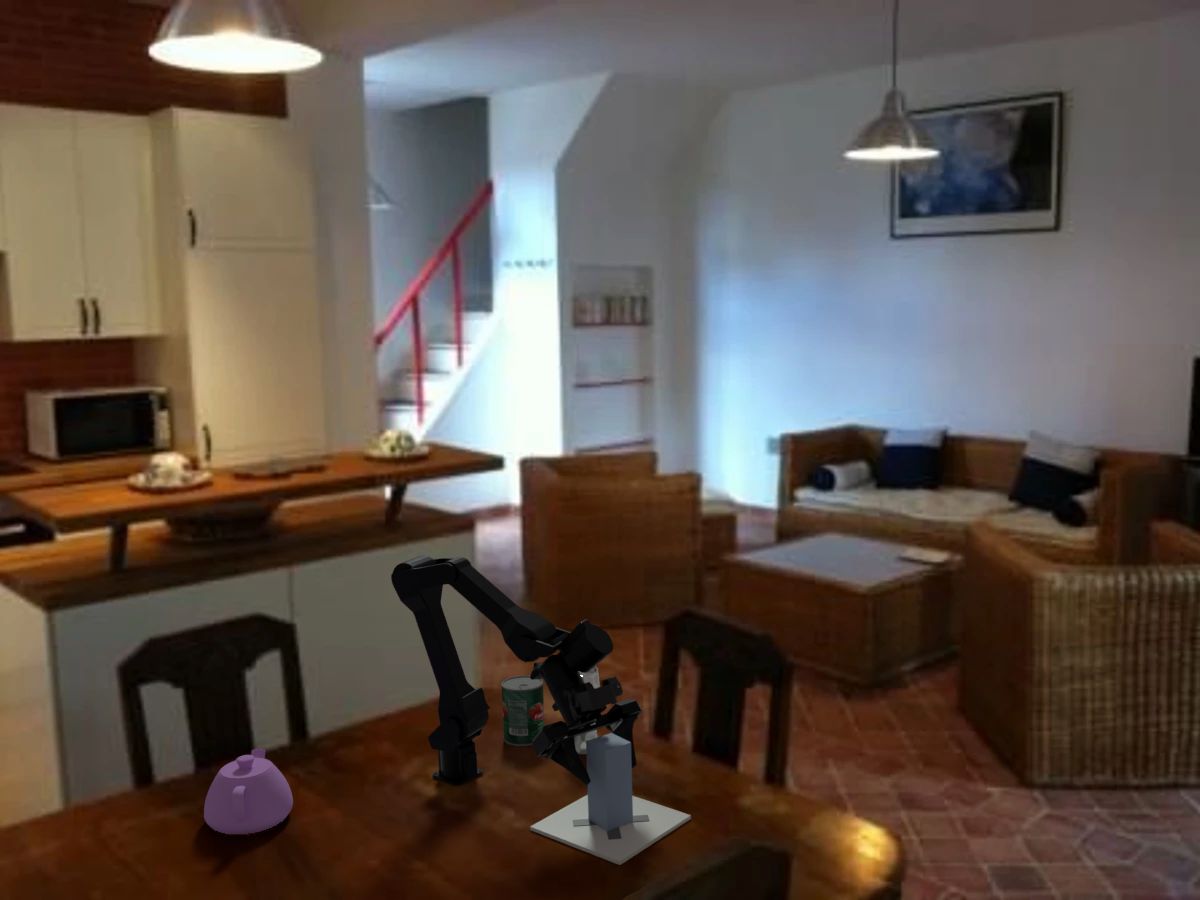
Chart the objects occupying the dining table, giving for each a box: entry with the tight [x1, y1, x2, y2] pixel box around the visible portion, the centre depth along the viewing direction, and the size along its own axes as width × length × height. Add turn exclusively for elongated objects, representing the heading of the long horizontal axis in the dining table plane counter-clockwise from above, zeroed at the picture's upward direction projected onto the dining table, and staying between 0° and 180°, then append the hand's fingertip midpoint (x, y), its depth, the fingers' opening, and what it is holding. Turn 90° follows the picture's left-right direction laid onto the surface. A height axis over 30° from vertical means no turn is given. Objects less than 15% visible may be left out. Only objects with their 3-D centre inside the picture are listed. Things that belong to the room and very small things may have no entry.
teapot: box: [203, 748, 294, 834], centre depth 182 cm, size 14×20×11 cm
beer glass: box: [574, 665, 601, 756], centre depth 206 cm, size 7×7×15 cm
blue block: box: [586, 732, 633, 831], centre depth 176 cm, size 5×5×13 cm
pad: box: [529, 794, 692, 866], centre depth 177 cm, size 18×18×1 cm
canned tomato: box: [500, 675, 545, 747], centre depth 211 cm, size 8×8×11 cm
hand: (612, 774), depth 175 cm, fingers open, 9 cm apart
